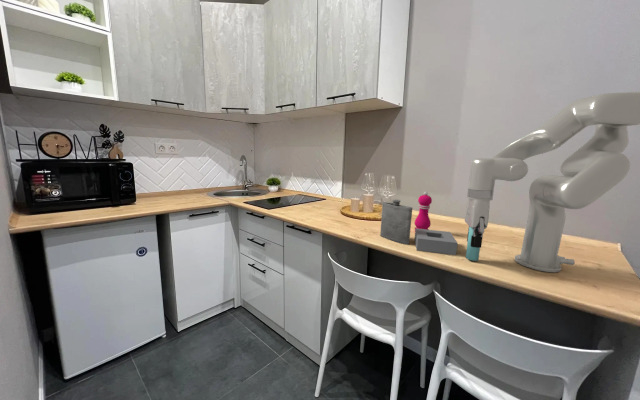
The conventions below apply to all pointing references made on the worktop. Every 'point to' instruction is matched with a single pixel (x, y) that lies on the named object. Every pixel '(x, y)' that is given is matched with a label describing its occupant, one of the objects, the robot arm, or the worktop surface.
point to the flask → (396, 222)
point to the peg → (472, 252)
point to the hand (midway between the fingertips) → (473, 244)
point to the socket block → (435, 241)
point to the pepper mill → (423, 212)
